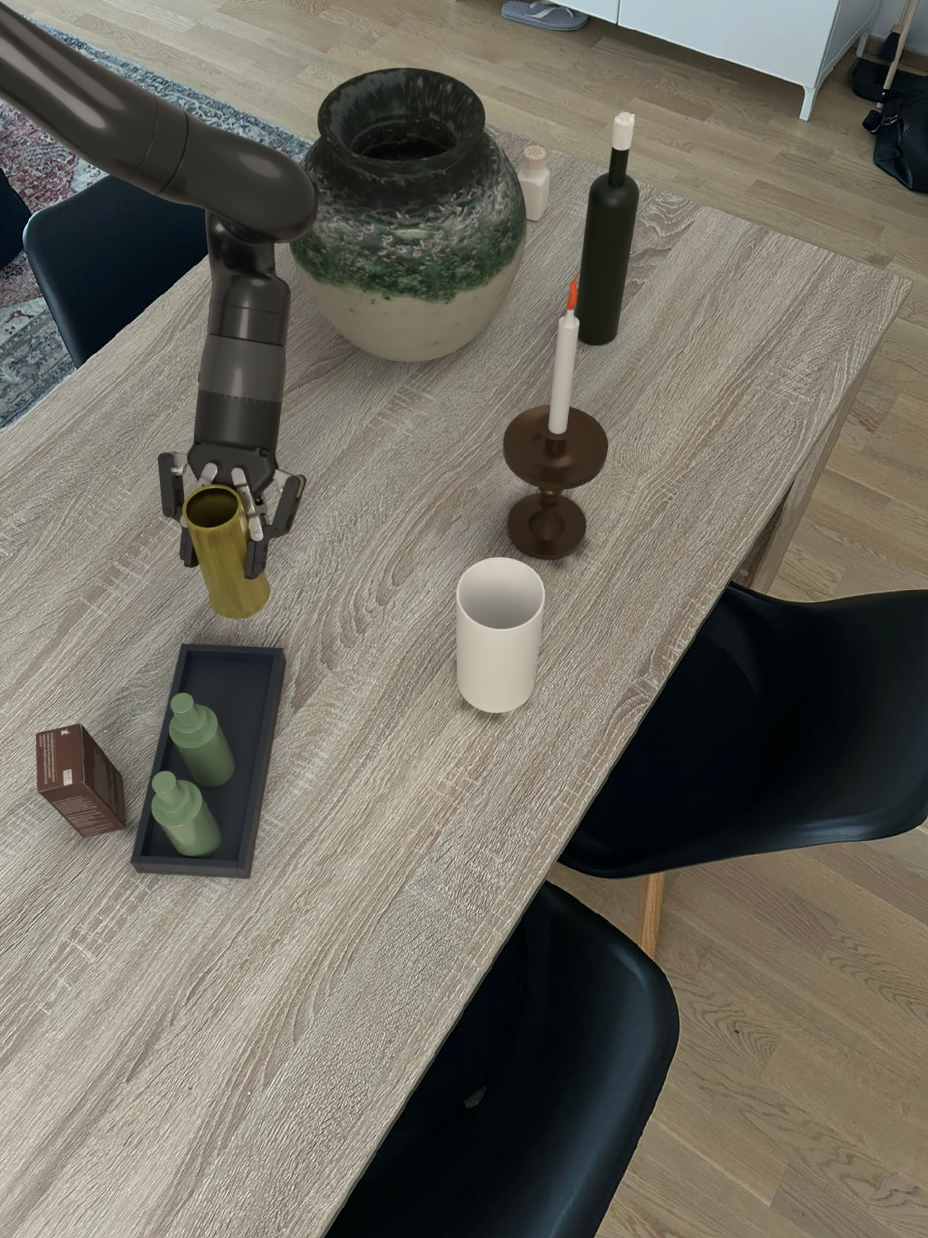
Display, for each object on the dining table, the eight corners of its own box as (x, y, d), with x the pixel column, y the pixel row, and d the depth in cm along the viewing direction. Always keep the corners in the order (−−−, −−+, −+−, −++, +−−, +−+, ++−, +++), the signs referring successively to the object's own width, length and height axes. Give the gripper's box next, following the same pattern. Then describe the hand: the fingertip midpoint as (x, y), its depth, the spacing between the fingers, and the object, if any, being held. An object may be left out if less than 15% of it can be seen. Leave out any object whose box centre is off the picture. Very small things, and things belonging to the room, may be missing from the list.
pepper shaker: (548, 207, 151) (553, 147, 143) (538, 223, 149) (542, 163, 141) (523, 200, 151) (526, 140, 143) (512, 216, 149) (515, 156, 141)
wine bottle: (623, 341, 136) (659, 126, 110) (581, 349, 135) (608, 134, 110) (609, 311, 139) (641, 96, 113) (567, 319, 138) (591, 103, 113)
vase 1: (283, 592, 105) (260, 504, 93) (237, 630, 102) (207, 545, 90) (243, 559, 107) (215, 468, 95) (197, 595, 105) (162, 507, 92)
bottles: (170, 860, 98) (131, 805, 86) (195, 745, 104) (162, 679, 92) (217, 863, 97) (184, 807, 86) (239, 747, 104) (211, 681, 92)
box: (76, 784, 102) (34, 730, 92) (123, 775, 103) (85, 720, 93) (79, 842, 99) (35, 792, 89) (126, 831, 100) (88, 781, 90)
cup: (519, 636, 112) (527, 547, 98) (546, 700, 108) (558, 617, 94) (446, 656, 110) (444, 569, 97) (470, 722, 106) (471, 641, 93)
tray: (137, 873, 98) (129, 863, 95) (187, 656, 110) (181, 642, 108) (249, 879, 97) (244, 869, 95) (286, 661, 110) (282, 647, 108)
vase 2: (519, 258, 145) (531, 41, 119) (521, 409, 129) (535, 197, 104) (315, 255, 145) (284, 39, 119) (293, 405, 130) (252, 194, 104)
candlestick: (524, 478, 123) (543, 226, 94) (608, 512, 121) (655, 263, 91) (482, 544, 118) (489, 299, 89) (569, 580, 116) (606, 340, 86)
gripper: (328, 404, 97) (305, 579, 101) (183, 378, 99) (166, 552, 103) (304, 404, 90) (280, 594, 94) (148, 377, 91) (131, 564, 95)
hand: (221, 571), depth 98 cm, fingers closed on vase 1, 5 cm apart
